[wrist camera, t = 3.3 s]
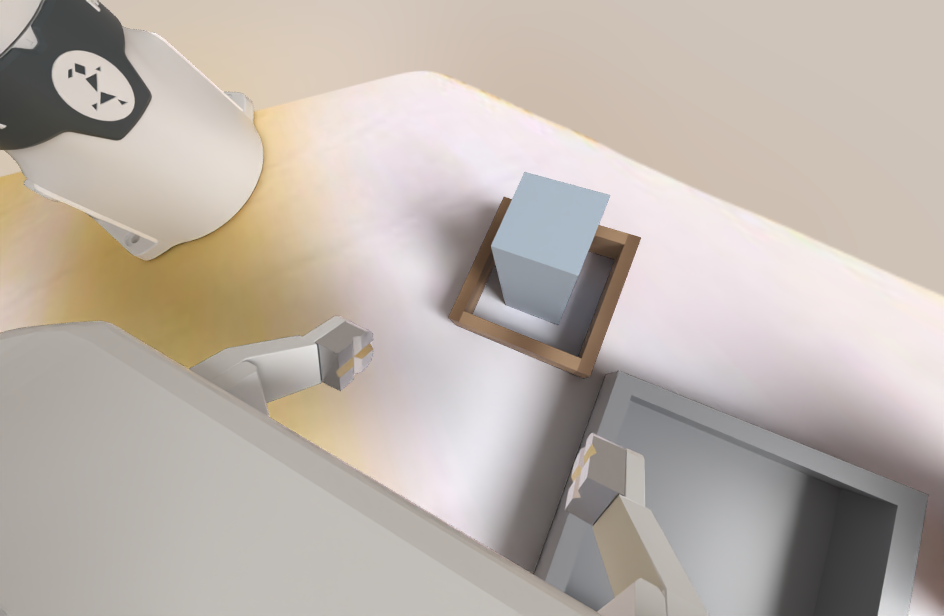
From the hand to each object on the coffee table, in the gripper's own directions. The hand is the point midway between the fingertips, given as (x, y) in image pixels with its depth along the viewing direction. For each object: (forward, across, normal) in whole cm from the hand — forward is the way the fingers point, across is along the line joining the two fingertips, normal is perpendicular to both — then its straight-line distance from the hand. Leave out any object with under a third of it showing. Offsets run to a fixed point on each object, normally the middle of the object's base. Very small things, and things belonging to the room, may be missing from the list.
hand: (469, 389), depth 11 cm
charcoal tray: (+6, -13, +11) cm, 18 cm away
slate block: (+14, 0, +3) cm, 14 cm away
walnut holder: (+14, 0, +3) cm, 14 cm away
